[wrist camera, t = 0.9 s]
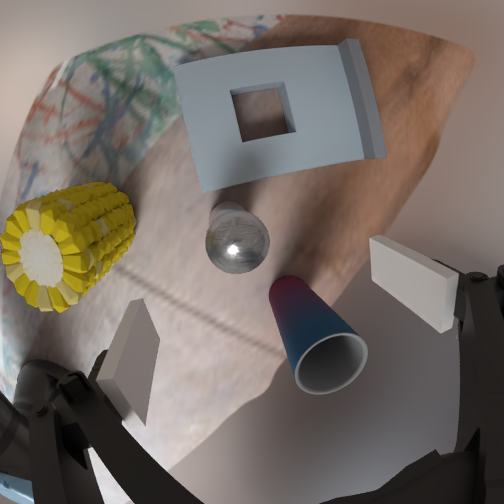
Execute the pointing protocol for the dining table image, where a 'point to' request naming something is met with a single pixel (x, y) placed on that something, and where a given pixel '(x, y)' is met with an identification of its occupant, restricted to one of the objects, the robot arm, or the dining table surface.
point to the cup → (315, 338)
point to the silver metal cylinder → (236, 239)
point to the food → (66, 243)
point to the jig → (294, 108)
